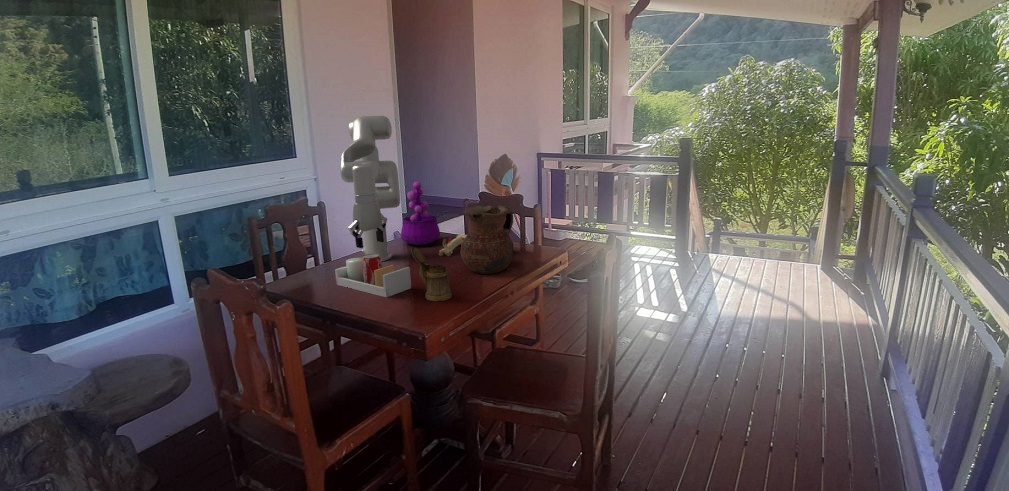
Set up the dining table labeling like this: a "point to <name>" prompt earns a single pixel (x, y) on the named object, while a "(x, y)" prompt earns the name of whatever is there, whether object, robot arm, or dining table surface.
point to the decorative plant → (419, 221)
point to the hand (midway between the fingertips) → (370, 244)
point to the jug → (488, 239)
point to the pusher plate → (381, 272)
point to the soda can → (371, 267)
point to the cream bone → (451, 245)
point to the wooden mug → (433, 278)
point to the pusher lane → (391, 283)
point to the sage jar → (355, 269)
